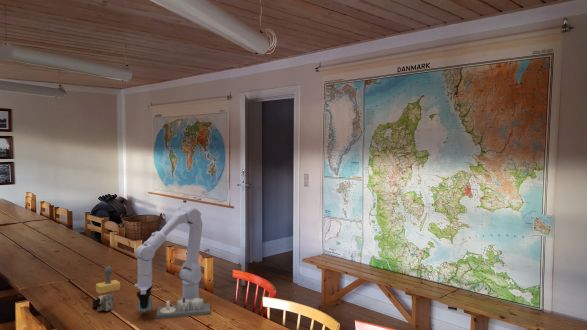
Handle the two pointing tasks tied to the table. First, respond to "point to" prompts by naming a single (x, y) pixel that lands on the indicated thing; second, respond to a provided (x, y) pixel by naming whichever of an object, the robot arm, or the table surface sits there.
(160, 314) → the gear board
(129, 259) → the table surface
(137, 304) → the slate gear
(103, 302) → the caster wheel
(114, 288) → the rubber stamp
